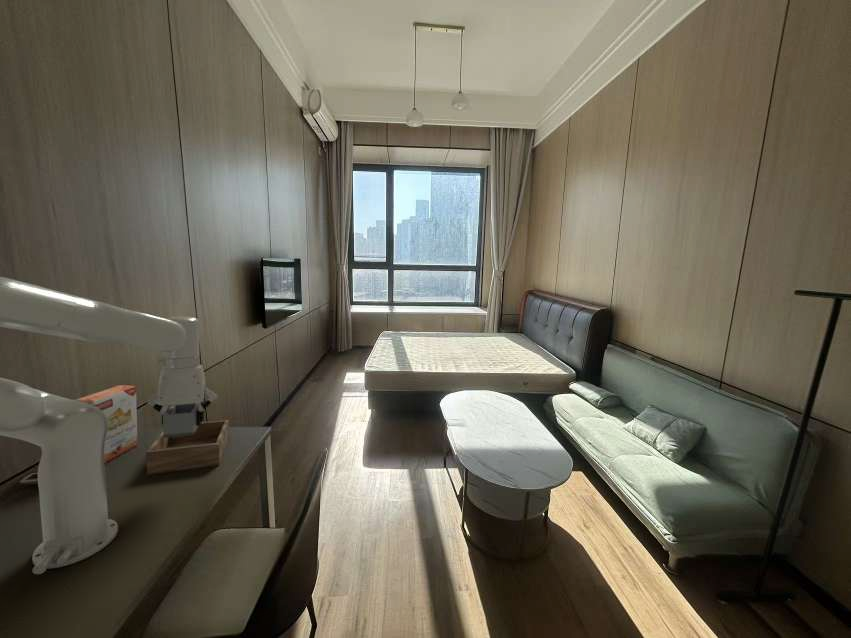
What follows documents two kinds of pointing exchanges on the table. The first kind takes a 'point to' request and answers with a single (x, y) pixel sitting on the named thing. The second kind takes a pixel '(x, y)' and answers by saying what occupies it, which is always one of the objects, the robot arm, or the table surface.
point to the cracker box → (117, 418)
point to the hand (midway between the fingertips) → (183, 424)
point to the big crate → (189, 449)
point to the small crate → (180, 421)
